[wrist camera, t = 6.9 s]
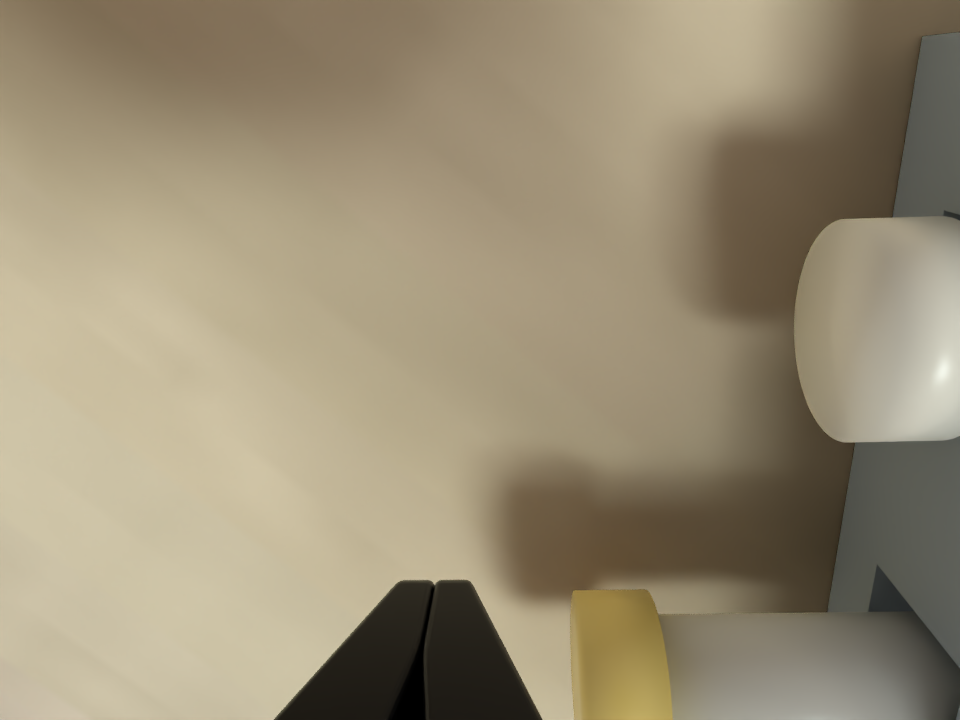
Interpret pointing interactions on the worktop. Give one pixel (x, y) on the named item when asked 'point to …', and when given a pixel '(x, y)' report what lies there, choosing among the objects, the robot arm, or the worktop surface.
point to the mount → (912, 464)
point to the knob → (882, 329)
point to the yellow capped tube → (753, 664)
